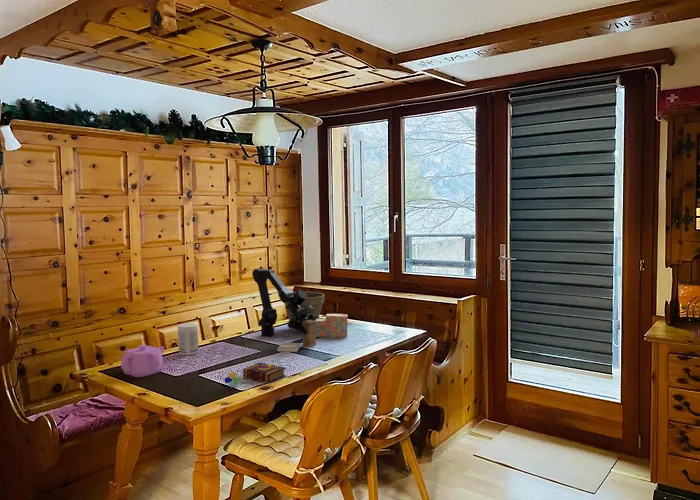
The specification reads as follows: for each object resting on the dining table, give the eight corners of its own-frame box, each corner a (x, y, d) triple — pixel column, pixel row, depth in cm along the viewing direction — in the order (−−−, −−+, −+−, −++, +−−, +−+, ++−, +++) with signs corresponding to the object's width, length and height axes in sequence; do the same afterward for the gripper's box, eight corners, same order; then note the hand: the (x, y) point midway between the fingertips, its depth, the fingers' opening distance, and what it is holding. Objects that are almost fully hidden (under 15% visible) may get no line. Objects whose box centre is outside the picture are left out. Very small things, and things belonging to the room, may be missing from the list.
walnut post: (302, 345, 291) (302, 321, 289) (309, 343, 294) (309, 319, 293) (309, 346, 287) (309, 322, 286) (315, 344, 291) (315, 321, 290)
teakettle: (120, 379, 234) (119, 351, 233) (126, 368, 251) (125, 341, 250) (161, 376, 238) (160, 349, 237) (165, 365, 255) (164, 339, 254)
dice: (223, 385, 226) (223, 370, 225) (228, 383, 228) (228, 369, 228) (237, 389, 221) (237, 373, 221) (242, 387, 224) (242, 372, 223)
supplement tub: (197, 350, 281) (196, 322, 280) (199, 354, 272) (198, 326, 271) (178, 351, 278) (177, 323, 276) (179, 356, 269) (178, 327, 267)
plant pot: (307, 323, 344) (307, 289, 342) (332, 329, 326) (332, 294, 324) (275, 329, 327) (274, 294, 326) (299, 336, 309) (299, 299, 307)
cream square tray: (277, 351, 279) (277, 347, 278) (282, 346, 289) (282, 342, 288) (296, 351, 278) (296, 347, 277) (300, 346, 287) (300, 343, 287)
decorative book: (269, 384, 228) (268, 373, 227) (240, 378, 236) (240, 366, 236) (285, 377, 237) (285, 366, 237) (258, 371, 246) (257, 360, 246)
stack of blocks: (309, 336, 310) (309, 315, 309) (311, 334, 316) (311, 313, 315) (347, 337, 308) (346, 316, 307) (347, 334, 314) (347, 313, 313)
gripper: (291, 303, 284) (306, 327, 278) (315, 298, 299) (330, 321, 293) (281, 316, 290) (295, 339, 284) (305, 311, 304) (319, 333, 298)
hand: (311, 333), depth 289 cm, fingers open, 7 cm apart
